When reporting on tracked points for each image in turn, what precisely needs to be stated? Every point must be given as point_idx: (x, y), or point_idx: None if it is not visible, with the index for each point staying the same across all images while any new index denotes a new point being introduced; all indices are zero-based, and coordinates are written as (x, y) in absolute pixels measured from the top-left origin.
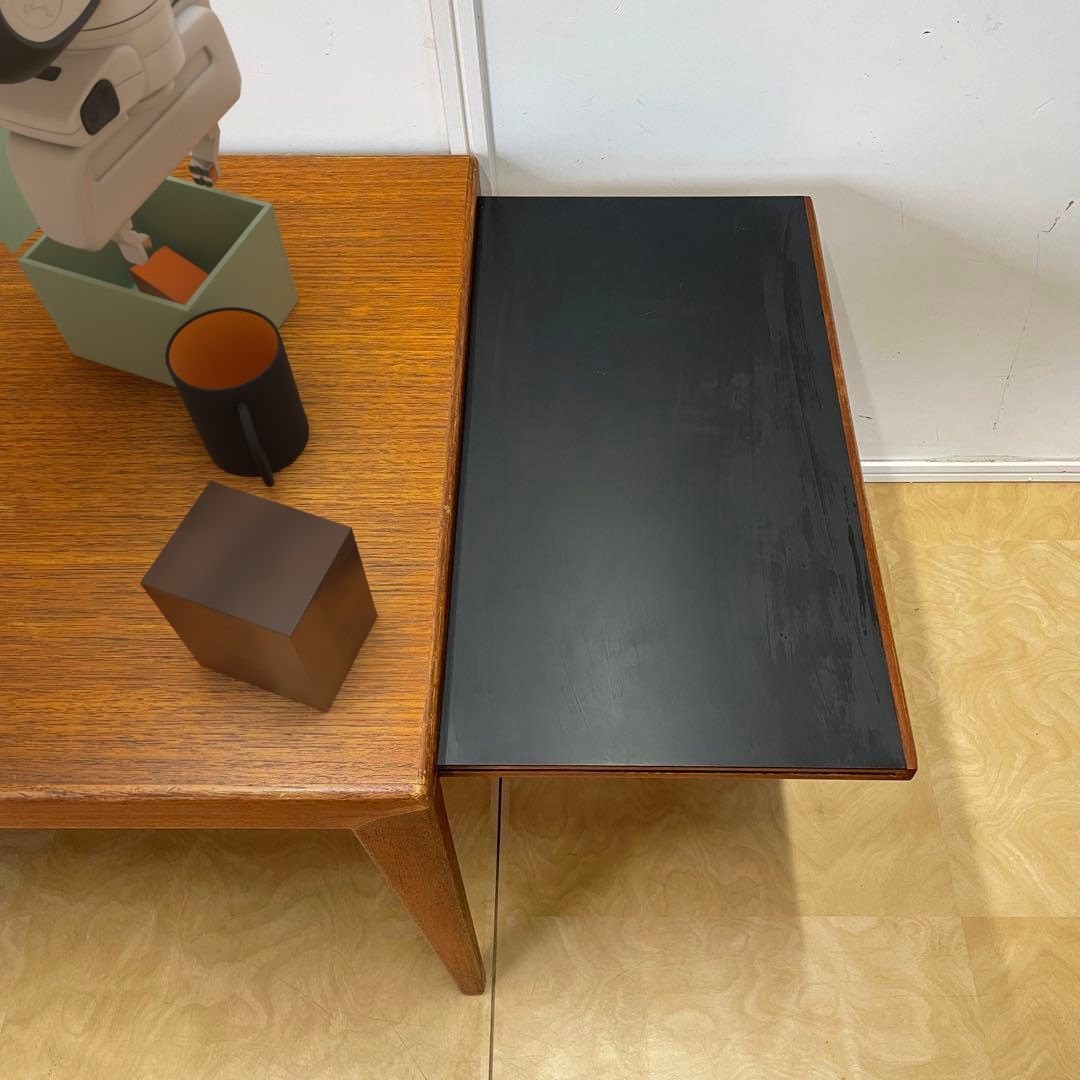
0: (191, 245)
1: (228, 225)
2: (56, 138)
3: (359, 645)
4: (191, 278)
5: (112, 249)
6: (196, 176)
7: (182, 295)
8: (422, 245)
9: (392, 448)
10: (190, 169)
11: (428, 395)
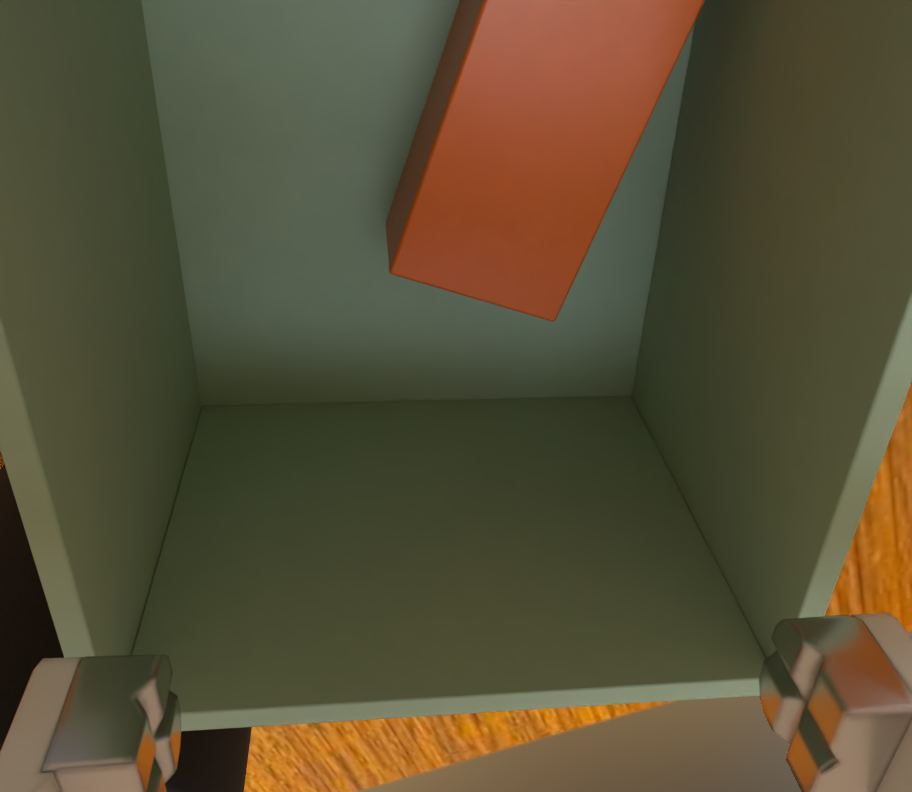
0: (740, 86)
1: (759, 391)
2: None
3: None
4: (554, 188)
5: None
6: (802, 670)
7: (454, 206)
8: (903, 568)
9: (261, 745)
10: (824, 695)
11: (426, 742)
